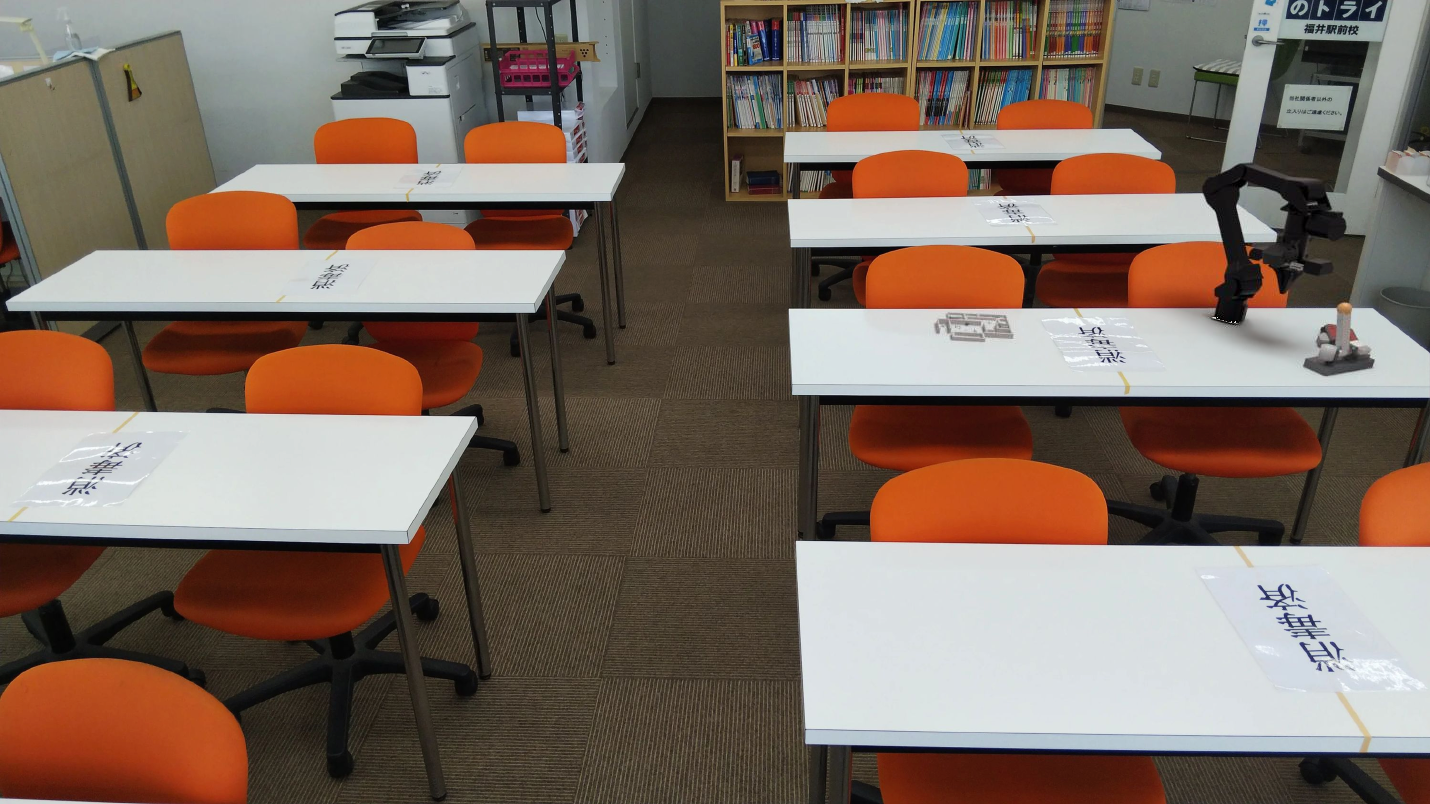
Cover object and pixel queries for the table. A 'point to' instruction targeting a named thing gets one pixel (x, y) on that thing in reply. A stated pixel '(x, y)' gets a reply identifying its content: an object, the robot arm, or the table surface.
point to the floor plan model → (1001, 328)
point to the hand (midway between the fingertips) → (1282, 294)
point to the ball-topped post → (1343, 329)
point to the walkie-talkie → (1331, 335)
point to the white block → (1361, 347)
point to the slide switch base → (1340, 363)
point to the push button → (1327, 352)
